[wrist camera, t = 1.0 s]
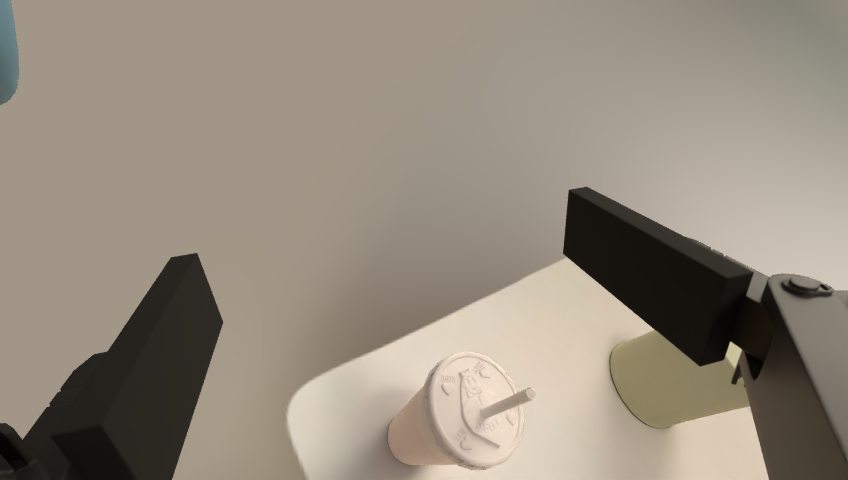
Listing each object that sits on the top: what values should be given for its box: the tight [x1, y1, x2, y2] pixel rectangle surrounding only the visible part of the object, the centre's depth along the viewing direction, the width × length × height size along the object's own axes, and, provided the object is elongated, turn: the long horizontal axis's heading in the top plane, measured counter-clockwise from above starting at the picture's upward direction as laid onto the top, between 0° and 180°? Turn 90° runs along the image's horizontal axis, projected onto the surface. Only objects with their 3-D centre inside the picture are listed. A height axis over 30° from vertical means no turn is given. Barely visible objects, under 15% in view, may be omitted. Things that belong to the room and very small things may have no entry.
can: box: [610, 330, 750, 429], centre depth 40 cm, size 9×9×12 cm
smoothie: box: [388, 352, 536, 470], centre depth 25 cm, size 6×6×14 cm
